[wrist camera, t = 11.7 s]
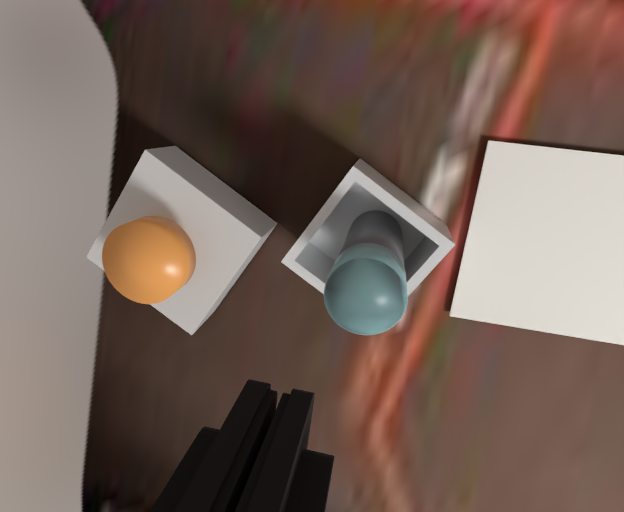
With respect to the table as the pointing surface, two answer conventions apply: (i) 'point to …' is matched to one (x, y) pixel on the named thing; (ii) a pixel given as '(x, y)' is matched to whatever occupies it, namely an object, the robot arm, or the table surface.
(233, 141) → the table surface
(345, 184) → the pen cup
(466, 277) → the paper
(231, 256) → the button box
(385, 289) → the marker
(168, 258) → the button
